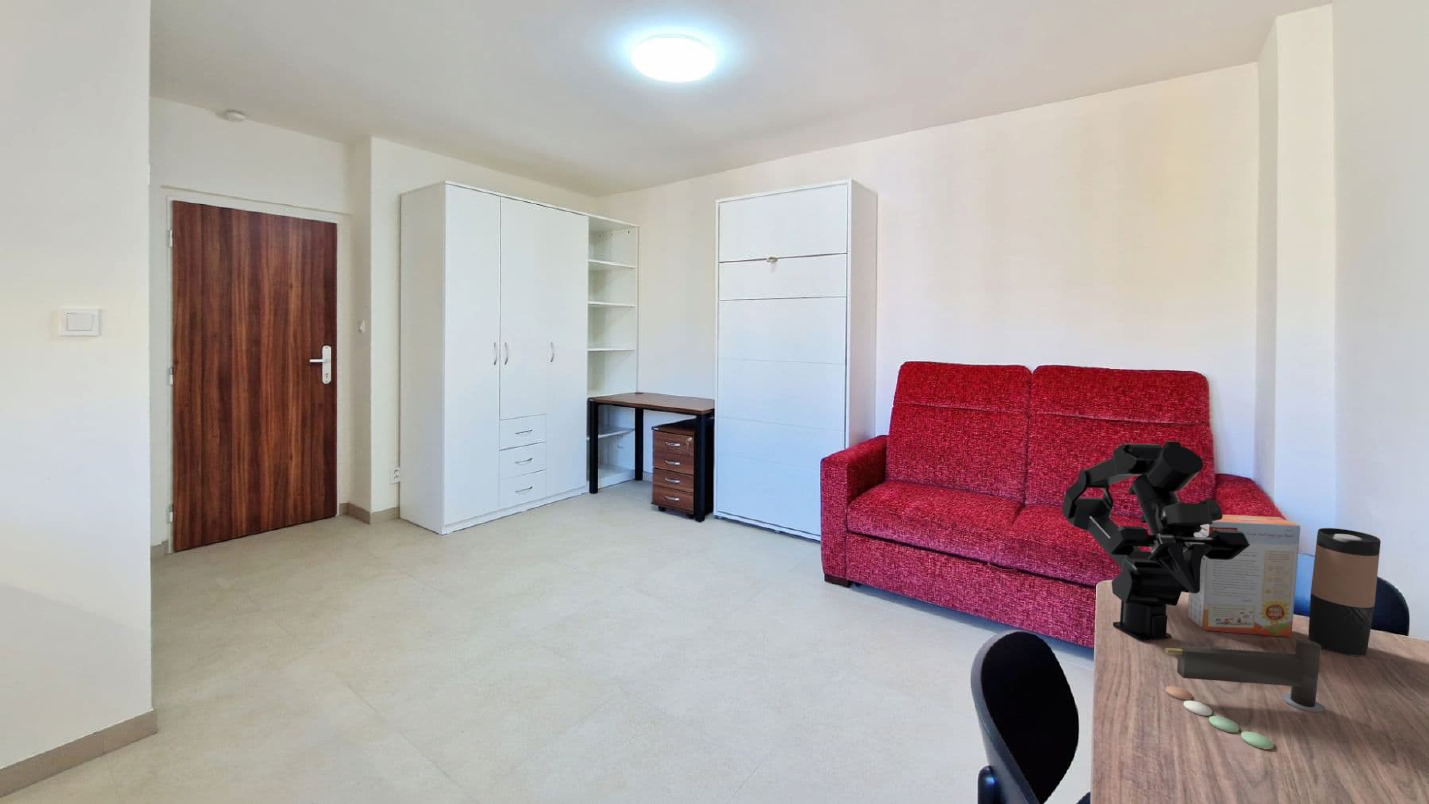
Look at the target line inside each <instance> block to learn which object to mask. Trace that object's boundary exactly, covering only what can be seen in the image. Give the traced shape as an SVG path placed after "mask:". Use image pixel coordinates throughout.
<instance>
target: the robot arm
mask: <svg viewBox="0 0 1429 804" xmlns="http://www.w3.org/2000/svg"><path fill="white" fill-rule="evenodd" d="M1112 456H1113V457H1111V458H1108V459H1106V460H1104V461H1102V462H1099V463H1097V464H1096V465H1093V466H1090V467H1089V468H1084V469H1081V470H1079V473H1078V475H1077V479H1076V481H1075V482H1074V483H1073V484H1072V485H1071V486H1070V487H1069V488H1067V490H1066V491H1065V494H1064V497H1063V503H1062V505H1061V506H1062V507H1061V511H1062V515H1063V517H1064V518H1065V520H1066V521H1067V523H1069V524H1070V525H1072V527H1074V528H1077V529H1079V530H1082V531H1086V532H1088V533H1089V534H1090V535H1091V536H1092V538H1094V540H1095V541H1096V542H1097V543H1098V544H1099V545H1100V546H1101V548H1102V549H1103V550H1104V552H1106V553H1107V555H1109V557H1110V558H1111V559H1112V560H1113V561H1114V562H1115V563H1116V564H1117V566H1118V567H1119V568H1120V569H1121V570H1120V573H1118V574H1117V576H1116V577H1114V579H1112V580H1111V589H1112V594H1113V595H1115V596H1116V598H1118V599H1119V600H1120V601H1121V603H1120V614H1119V621H1113V622H1112V626H1113V627H1115V628H1117V629H1119V628H1120V629H1121V631H1122V630H1123V633H1126V632H1127V633H1126V634H1128V635H1130V636H1131V637H1133V638H1135V639H1137V640H1139V641H1141V642H1149V641H1159V640H1165V639H1172V636H1173V635H1172V634H1171V633H1169V632H1167V631H1168V630H1167V628H1168V615H1167V606H1173V607H1177V605H1178V602H1179V600H1180V598H1181V595H1182V592H1183V589H1184V588H1185V589H1186V590H1187V591H1188V593H1189V592H1191V593H1198V592H1199V591H1200V567H1201V561H1202V557H1203V556H1206V557H1207V558H1209V559H1216V560H1229V559H1233V558H1234V557H1236V556H1237V555H1238V554H1239V553H1241V552H1242V551H1243V550H1245V549H1246V548H1247V547H1248V546H1250V544H1249V542H1248V540H1247V538H1246V536H1245V535H1244V534H1243V533H1242V532H1239V531H1234V530H1214V531H1213V532H1212V533H1211V534H1209V535H1208V536H1207V537H1195V536H1194V533H1199V532H1200V531H1201V530H1202V528H1201V526H1200V525H1205V524H1209V525H1211V524H1213V522H1212V521H1216V520H1221V519H1222V517H1223V515H1224V514H1223V510H1222V508H1221V506H1220V504H1219V503H1218V501H1217V500H1216V499H1204V500H1200V501H1199V502H1197V503H1196V502H1194V503H1193V502H1181V501H1180V499H1179V497H1178V496H1179V495H1177V492H1179V491H1182V490H1183V489H1184V488H1185V487H1186V486H1187V485H1188V484H1189V483H1190V482H1192V480H1193V479H1194V478H1195V477H1196V476H1197V475H1198V474H1199V473H1200V472H1201V471H1202V470H1203V468H1204V462H1203V459H1202V457H1201V456H1200V455H1198V454H1197V453H1195V452H1194V451H1193V450H1192V449H1189V448H1187V447H1184V446H1182V444H1181V441H1178V440H1177V441H1173V440H1172V441H1171V440H1168V441H1167V440H1166V442H1165V443H1164V444H1163V445H1161V444H1160V443H1159V444H1158V443H1121V444H1120V445H1119V446H1118V447H1116V448H1115V449H1114V450H1113V451H1112ZM1135 476H1136V478H1135V480H1132V483H1131V486H1130V487H1129V489H1128V495H1130V496H1135V497H1136V499H1137V501H1138V504H1139V508H1140V510H1141V512H1142V514H1141V516H1140V518H1139V519H1140V522H1141V524H1146V525H1147V528H1145V527H1144V526H1133V525H1132V526H1130V525H1120V526H1118V525H1117V524H1116V523H1115V521H1113V519H1111V514H1112V509H1113V505H1114V500H1113V498H1112V495H1111V493H1110V487H1111V485H1113V484H1116V483H1119V482H1122V481H1125V480H1126V479H1130V478H1132V477H1135ZM1089 488H1090V489H1101V490H1102V491H1103V495H1102V497H1081V496H1082V495H1083V494H1084V493H1085V492H1086V490H1087V489H1089ZM1147 529H1148V530H1149V532H1148V530H1147ZM1149 533H1150V534H1149ZM1141 547H1142V548H1143V547H1145V548H1149V550H1150V551H1147V550H1143V549H1141ZM1120 629H1119V630H1120Z"/></svg>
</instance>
